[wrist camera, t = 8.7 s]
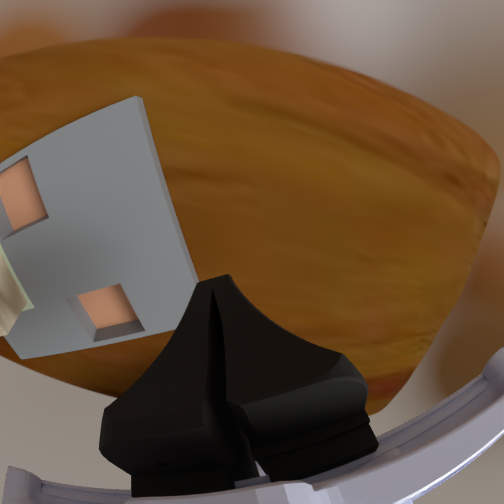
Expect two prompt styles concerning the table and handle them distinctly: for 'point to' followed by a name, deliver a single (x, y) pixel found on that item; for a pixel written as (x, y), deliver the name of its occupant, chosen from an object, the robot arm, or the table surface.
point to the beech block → (9, 299)
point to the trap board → (92, 236)
